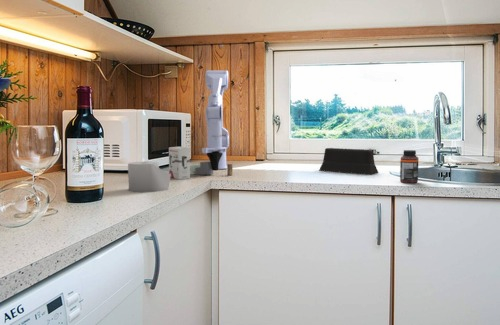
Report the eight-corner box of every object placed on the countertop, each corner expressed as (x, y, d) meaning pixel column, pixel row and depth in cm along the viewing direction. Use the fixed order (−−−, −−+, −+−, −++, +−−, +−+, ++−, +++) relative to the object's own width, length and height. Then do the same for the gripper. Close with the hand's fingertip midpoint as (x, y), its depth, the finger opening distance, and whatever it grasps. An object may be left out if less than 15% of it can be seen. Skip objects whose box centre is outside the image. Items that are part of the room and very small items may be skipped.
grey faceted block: (200, 173, 176) (200, 161, 176) (213, 173, 174) (212, 161, 173) (195, 174, 173) (194, 162, 172) (208, 174, 170) (207, 162, 170)
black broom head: (378, 173, 178) (379, 149, 177) (370, 175, 171) (371, 150, 170) (328, 169, 192) (328, 147, 191) (318, 171, 185) (318, 148, 184)
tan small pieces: (200, 171, 182) (200, 161, 182) (202, 171, 183) (202, 161, 183) (229, 175, 170) (229, 164, 169) (232, 175, 171) (232, 164, 170)
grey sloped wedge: (174, 190, 135) (173, 163, 134) (130, 193, 129) (130, 164, 129) (167, 186, 143) (167, 160, 142) (126, 188, 138) (126, 162, 137)
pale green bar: (206, 172, 179) (205, 163, 179) (208, 172, 178) (208, 164, 177) (184, 174, 173) (184, 165, 172) (186, 174, 171) (186, 165, 171)
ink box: (168, 177, 165) (167, 146, 164) (179, 176, 168) (179, 146, 167) (179, 179, 159) (178, 148, 157) (190, 178, 161) (190, 147, 160)
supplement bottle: (403, 180, 155) (404, 149, 154) (420, 182, 151) (421, 150, 150) (397, 182, 150) (398, 150, 149) (414, 184, 146) (415, 151, 145)
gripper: (216, 136, 179) (216, 168, 180) (195, 136, 166) (195, 171, 167) (230, 136, 175) (230, 169, 176) (210, 136, 163) (210, 172, 164)
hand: (214, 170), depth 171 cm, fingers closed, pressing on grey faceted block
